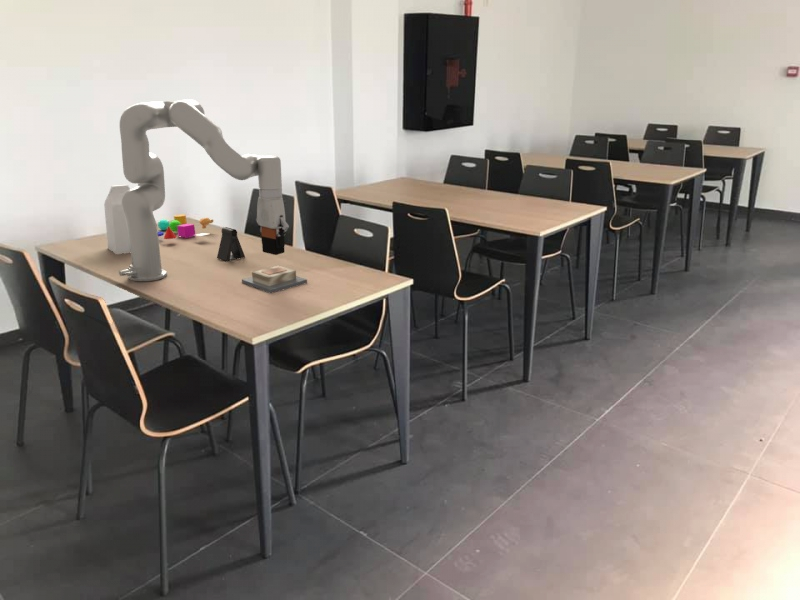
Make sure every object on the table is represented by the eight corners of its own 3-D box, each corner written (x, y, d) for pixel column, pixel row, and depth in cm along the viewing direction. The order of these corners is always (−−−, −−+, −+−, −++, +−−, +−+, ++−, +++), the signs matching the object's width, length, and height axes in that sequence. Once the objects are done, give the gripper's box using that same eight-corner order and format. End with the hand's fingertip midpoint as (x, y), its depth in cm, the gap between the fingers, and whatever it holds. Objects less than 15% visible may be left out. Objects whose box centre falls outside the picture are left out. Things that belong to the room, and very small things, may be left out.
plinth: (268, 286, 213) (268, 277, 212) (252, 280, 219) (252, 271, 218) (296, 278, 222) (295, 269, 221) (279, 273, 227) (279, 264, 226)
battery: (276, 255, 214) (274, 226, 210) (261, 252, 217) (260, 223, 214) (285, 252, 217) (284, 224, 214) (271, 249, 221) (269, 221, 217)
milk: (116, 254, 250) (108, 189, 241) (107, 248, 258) (99, 184, 249) (147, 250, 257) (140, 186, 248) (137, 244, 265) (130, 182, 256)
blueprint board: (270, 293, 210) (270, 289, 210) (241, 282, 220) (241, 279, 219) (307, 282, 222) (307, 279, 221) (278, 273, 231) (277, 270, 231)
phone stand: (226, 261, 244) (223, 231, 240) (216, 258, 248) (214, 228, 244) (245, 257, 250) (243, 227, 246) (235, 254, 254) (234, 225, 250)
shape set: (183, 228, 301) (181, 213, 299) (233, 233, 282) (231, 217, 279) (128, 239, 278) (125, 223, 276) (177, 246, 259) (174, 228, 257)
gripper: (245, 191, 213) (248, 242, 219) (278, 198, 202) (280, 251, 208) (263, 189, 218) (266, 238, 224) (296, 195, 208) (298, 247, 214)
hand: (273, 244), depth 216 cm, fingers closed on battery, 7 cm apart
